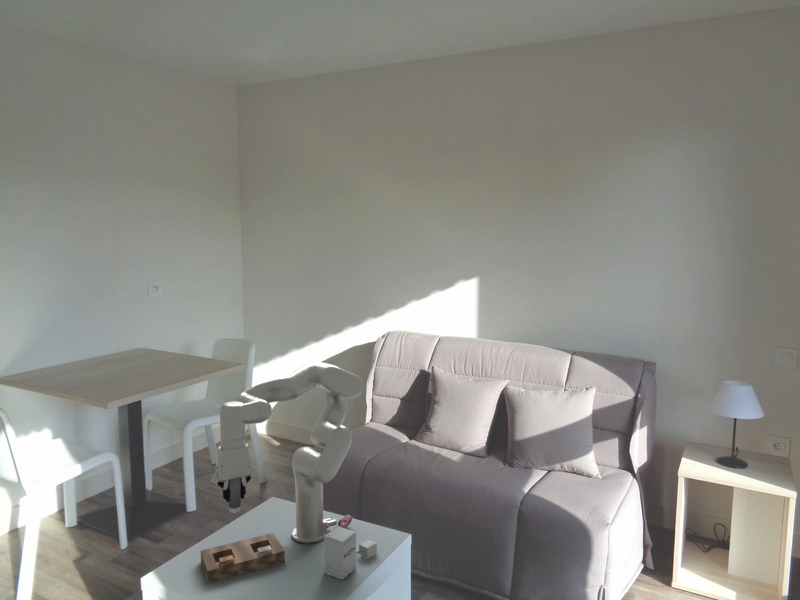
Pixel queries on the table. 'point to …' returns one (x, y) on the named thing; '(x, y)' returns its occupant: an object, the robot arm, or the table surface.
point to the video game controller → (345, 521)
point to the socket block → (242, 557)
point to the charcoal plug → (234, 495)
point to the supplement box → (340, 552)
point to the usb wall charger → (367, 549)
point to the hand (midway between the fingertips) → (234, 498)
